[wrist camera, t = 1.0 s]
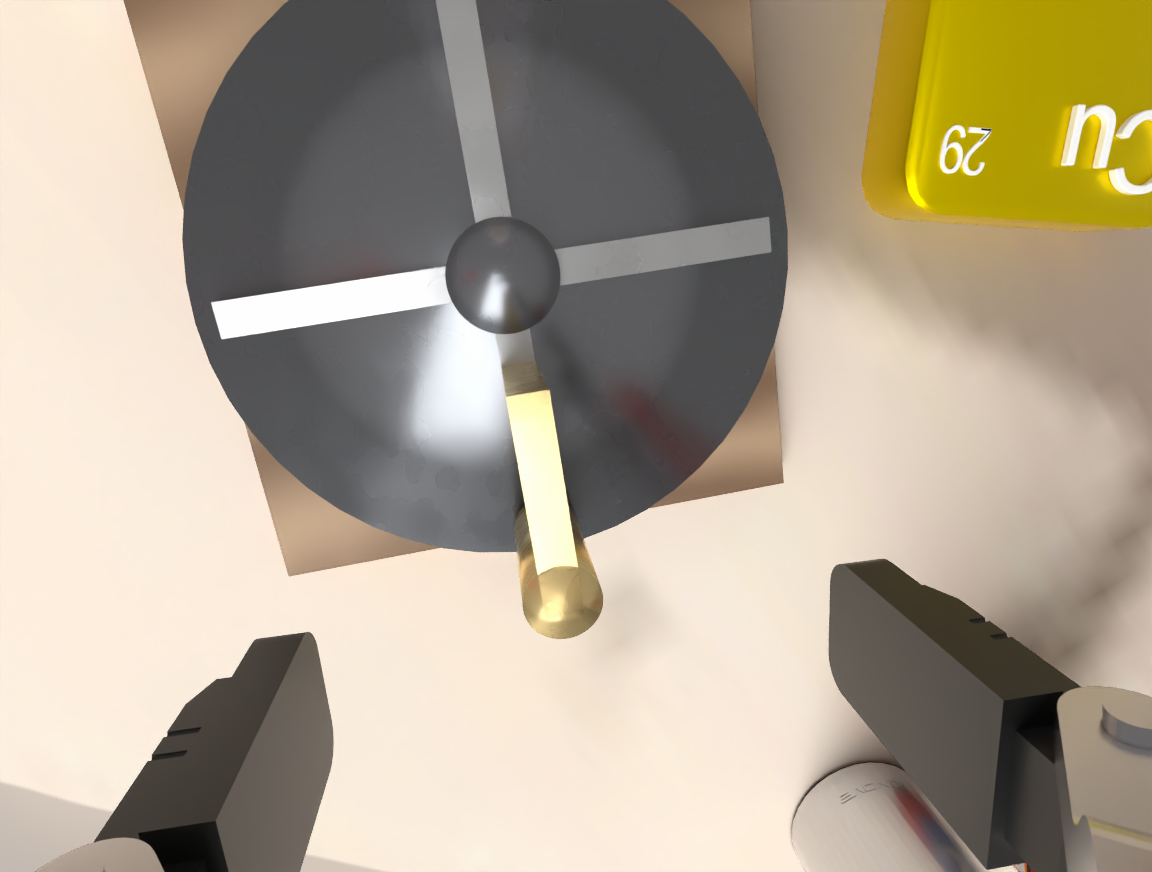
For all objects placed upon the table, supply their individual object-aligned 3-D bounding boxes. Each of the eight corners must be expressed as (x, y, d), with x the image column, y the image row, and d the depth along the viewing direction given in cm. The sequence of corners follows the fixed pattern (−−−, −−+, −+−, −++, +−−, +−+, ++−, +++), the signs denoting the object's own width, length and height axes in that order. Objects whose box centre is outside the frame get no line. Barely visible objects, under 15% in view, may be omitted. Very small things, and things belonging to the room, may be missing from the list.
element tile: (1179, -81, 34) (1288, -135, 29) (1107, 234, 38) (1194, 230, 33) (899, -120, 32) (968, -184, 27) (851, 217, 36) (905, 211, 31)
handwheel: (793, 497, 33) (889, 572, 25) (286, 594, 31) (220, 708, 23) (754, -88, 27) (868, -232, 19) (110, -15, 25) (-66, -143, 17)
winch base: (773, 486, 38) (811, 516, 34) (300, 575, 36) (273, 621, 32) (730, -80, 31) (773, -138, 27) (134, -12, 29) (69, -62, 24)
